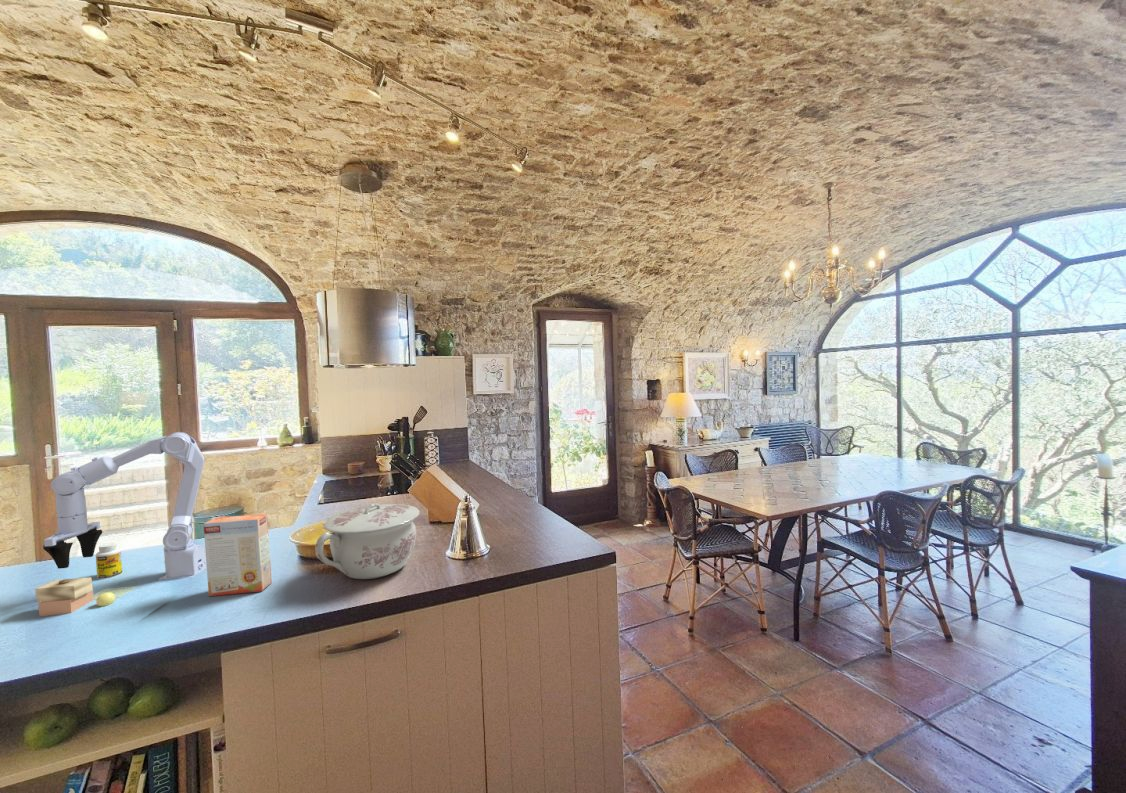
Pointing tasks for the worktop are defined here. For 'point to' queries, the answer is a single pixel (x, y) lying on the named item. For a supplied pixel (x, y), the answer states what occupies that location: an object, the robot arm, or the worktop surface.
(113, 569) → the supplement bottle
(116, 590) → the mat
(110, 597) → the yellow ball
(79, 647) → the worktop surface
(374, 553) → the chamber pot
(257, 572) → the cracker box
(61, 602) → the pink open box
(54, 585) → the lid
